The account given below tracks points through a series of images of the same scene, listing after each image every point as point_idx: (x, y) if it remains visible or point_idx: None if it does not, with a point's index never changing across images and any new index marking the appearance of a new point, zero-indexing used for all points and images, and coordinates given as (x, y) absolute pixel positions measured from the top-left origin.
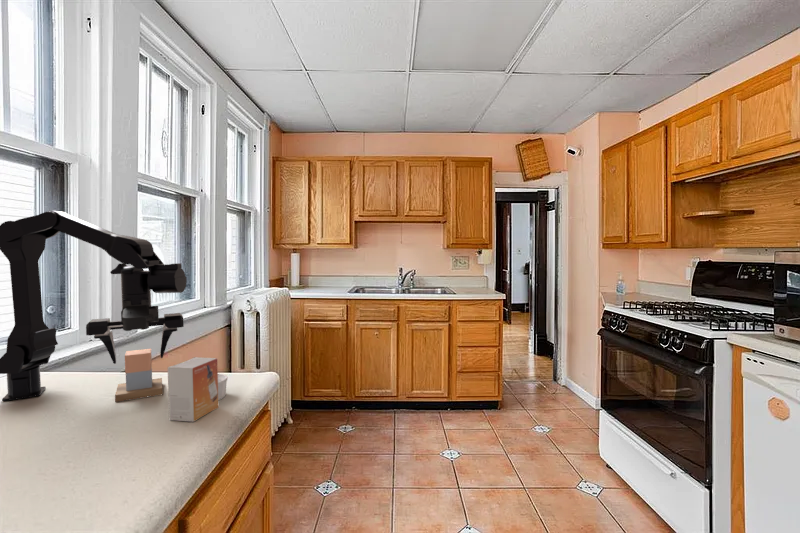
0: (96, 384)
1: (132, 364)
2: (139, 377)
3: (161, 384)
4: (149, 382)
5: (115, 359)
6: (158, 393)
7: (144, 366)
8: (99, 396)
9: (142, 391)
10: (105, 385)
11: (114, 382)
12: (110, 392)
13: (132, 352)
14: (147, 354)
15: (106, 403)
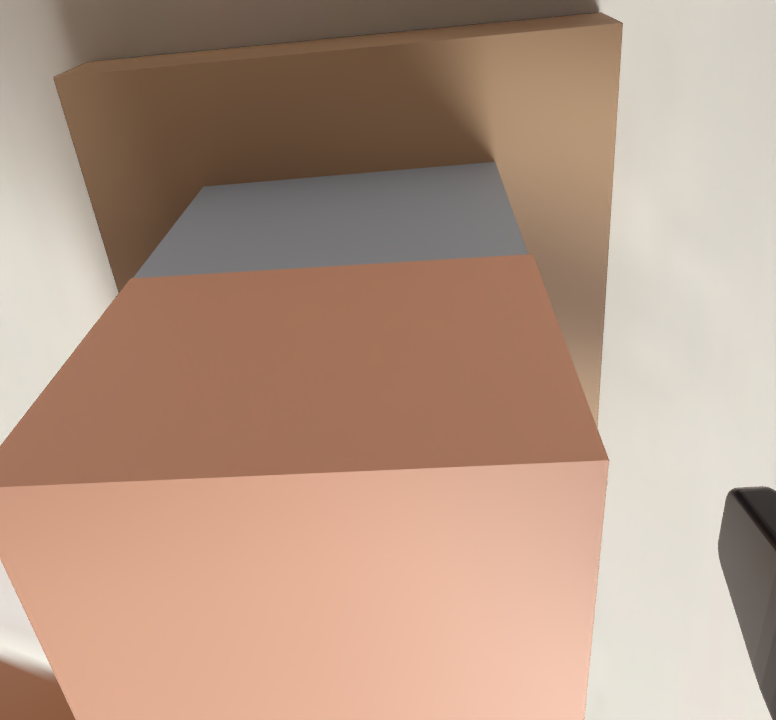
0: (749, 665)
1: (418, 335)
2: (326, 229)
3: (115, 258)
4: (214, 204)
5: (769, 535)
6: (124, 62)
7: (213, 310)
8: (749, 326)
9: (292, 52)
10: (685, 616)
11: (616, 659)
12: (649, 409)
13: (445, 693)
14: (57, 461)
15: (695, 9)
